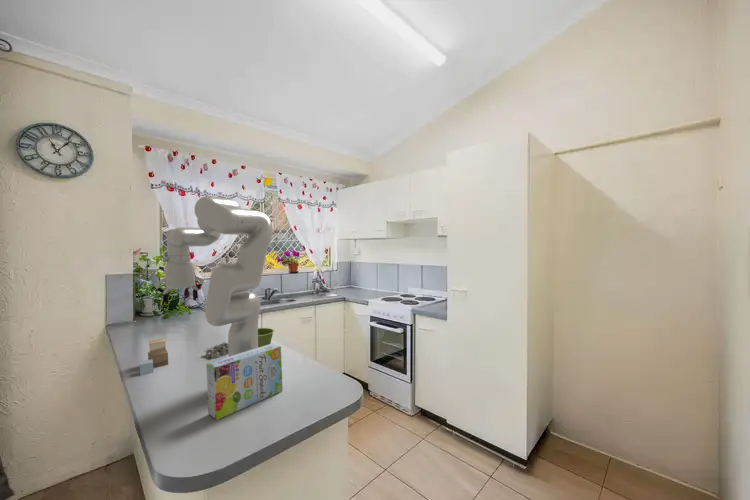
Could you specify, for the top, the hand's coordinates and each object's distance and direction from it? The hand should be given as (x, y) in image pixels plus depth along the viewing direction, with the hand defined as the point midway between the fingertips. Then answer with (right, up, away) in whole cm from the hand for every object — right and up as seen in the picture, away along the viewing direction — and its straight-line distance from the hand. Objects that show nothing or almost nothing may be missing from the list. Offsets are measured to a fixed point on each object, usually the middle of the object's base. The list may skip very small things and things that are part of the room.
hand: (181, 302), depth 125 cm
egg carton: (+10, -25, +11) cm, 29 cm away
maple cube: (-9, -20, -1) cm, 22 cm away
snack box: (+40, -26, -31) cm, 56 cm away
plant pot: (+30, -25, +5) cm, 39 cm away
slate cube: (-8, -26, -8) cm, 28 cm away
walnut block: (-9, -25, 0) cm, 27 cm away
